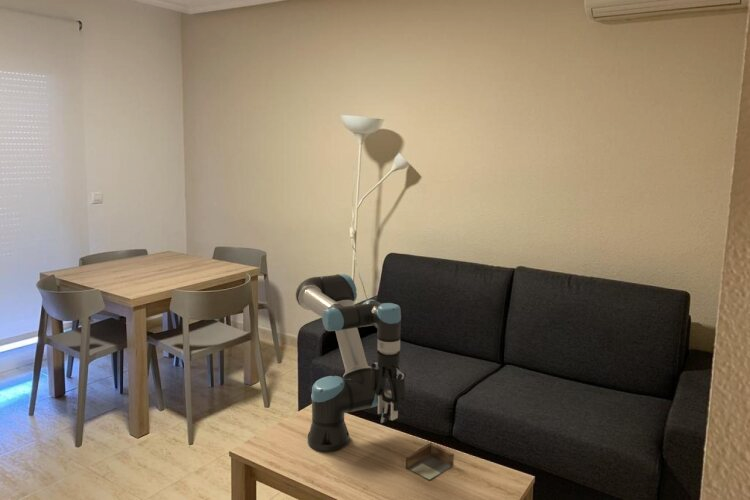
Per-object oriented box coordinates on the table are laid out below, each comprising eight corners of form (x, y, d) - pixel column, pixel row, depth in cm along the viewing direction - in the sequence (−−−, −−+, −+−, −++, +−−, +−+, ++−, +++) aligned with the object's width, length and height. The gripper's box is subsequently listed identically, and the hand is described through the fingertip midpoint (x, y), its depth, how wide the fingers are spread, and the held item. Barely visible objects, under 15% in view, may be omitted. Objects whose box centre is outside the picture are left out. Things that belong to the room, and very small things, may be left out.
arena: (406, 468, 200) (406, 456, 199) (430, 454, 209) (430, 442, 208) (429, 480, 193) (429, 468, 192) (453, 465, 202) (453, 453, 201)
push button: (387, 426, 197) (391, 400, 194) (373, 420, 200) (377, 394, 197) (396, 418, 203) (400, 392, 200) (383, 412, 205) (386, 386, 202)
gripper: (361, 346, 199) (360, 410, 204) (401, 361, 186) (400, 429, 191) (376, 340, 204) (376, 403, 209) (417, 355, 192) (415, 421, 197)
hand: (387, 415), depth 200 cm, fingers closed on push button, 5 cm apart
